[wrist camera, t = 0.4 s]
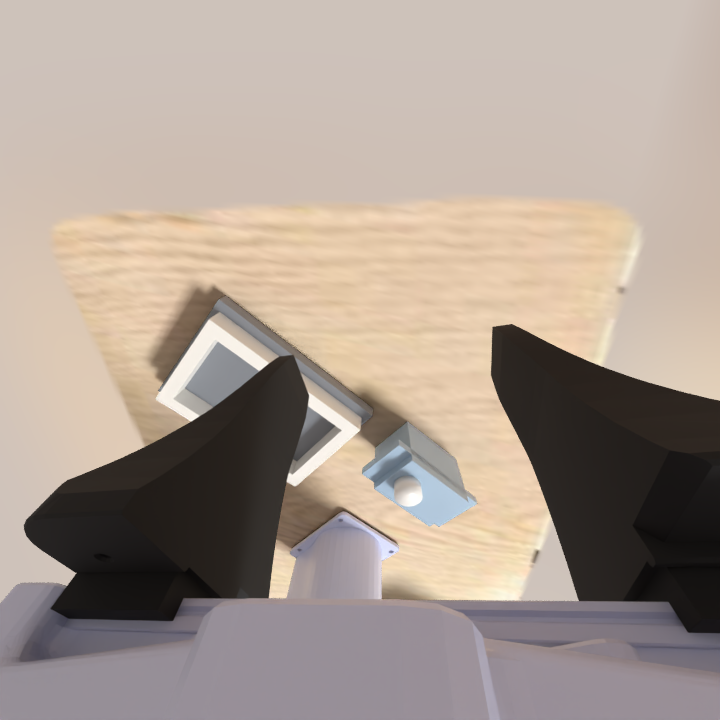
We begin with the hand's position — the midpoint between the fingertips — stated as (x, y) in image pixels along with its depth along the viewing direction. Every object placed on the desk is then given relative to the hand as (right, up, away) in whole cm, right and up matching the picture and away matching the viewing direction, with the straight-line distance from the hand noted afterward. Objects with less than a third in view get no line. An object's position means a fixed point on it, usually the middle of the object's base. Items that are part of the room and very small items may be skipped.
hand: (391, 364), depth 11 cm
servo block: (+4, -8, +16) cm, 18 cm away
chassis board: (-9, -3, +14) cm, 17 cm away
